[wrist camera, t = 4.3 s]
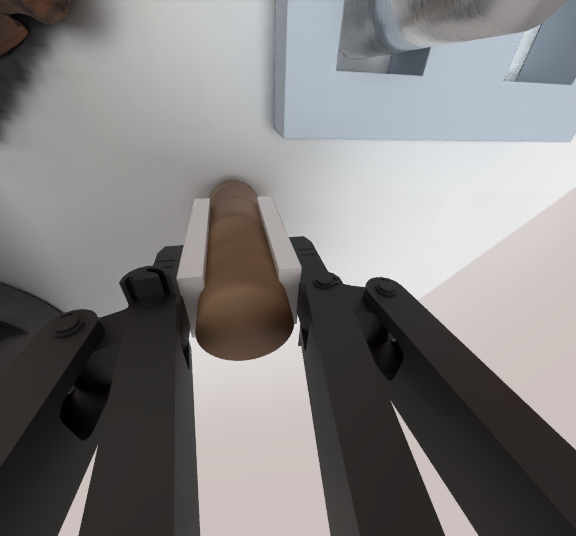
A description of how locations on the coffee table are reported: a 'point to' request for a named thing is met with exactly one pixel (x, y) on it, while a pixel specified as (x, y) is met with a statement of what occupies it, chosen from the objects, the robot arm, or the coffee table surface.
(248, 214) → the walnut peg
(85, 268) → the coffee table surface
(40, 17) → the pottery mug
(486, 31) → the grey steel peg
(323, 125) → the socket block
